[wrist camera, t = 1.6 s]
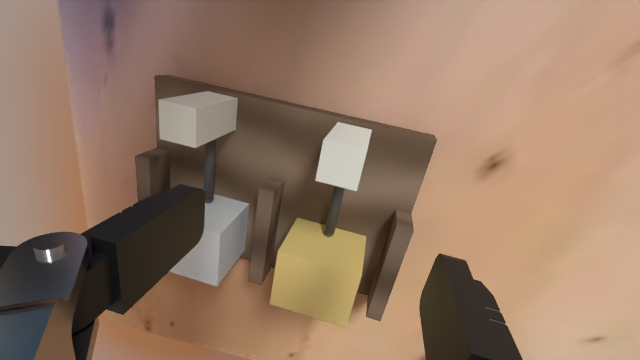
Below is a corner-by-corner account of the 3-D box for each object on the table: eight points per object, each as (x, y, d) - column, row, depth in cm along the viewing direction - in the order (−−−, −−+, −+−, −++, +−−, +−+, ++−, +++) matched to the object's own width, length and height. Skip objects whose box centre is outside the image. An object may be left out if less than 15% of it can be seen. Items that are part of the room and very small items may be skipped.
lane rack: (167, 74, 25) (130, 77, 21) (433, 135, 22) (442, 149, 19) (170, 226, 31) (141, 248, 27) (381, 287, 28) (380, 321, 25)
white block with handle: (187, 86, 23) (132, 93, 18) (259, 102, 23) (223, 114, 18) (186, 233, 29) (144, 269, 24) (244, 250, 28) (213, 291, 23)
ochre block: (315, 115, 22) (293, 133, 17) (396, 134, 21) (399, 158, 16) (288, 263, 28) (266, 311, 22) (352, 282, 27) (344, 335, 22)
